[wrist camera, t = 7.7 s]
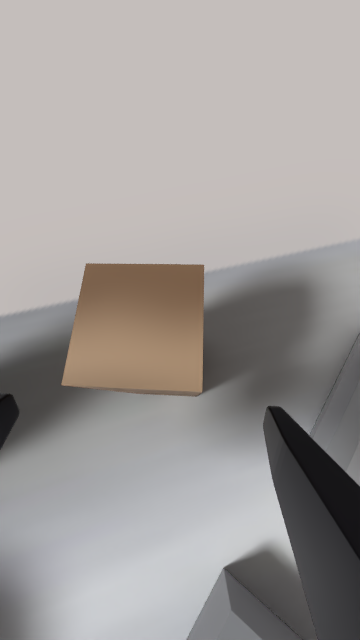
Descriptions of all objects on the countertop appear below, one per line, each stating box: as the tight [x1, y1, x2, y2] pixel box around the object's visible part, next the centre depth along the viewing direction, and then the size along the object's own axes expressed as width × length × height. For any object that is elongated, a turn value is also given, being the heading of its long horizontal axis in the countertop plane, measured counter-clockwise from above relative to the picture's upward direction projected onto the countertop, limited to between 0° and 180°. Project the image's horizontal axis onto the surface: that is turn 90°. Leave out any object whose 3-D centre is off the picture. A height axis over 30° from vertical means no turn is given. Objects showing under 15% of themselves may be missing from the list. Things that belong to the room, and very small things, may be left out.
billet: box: [61, 264, 204, 396], centre depth 13 cm, size 4×4×11 cm
